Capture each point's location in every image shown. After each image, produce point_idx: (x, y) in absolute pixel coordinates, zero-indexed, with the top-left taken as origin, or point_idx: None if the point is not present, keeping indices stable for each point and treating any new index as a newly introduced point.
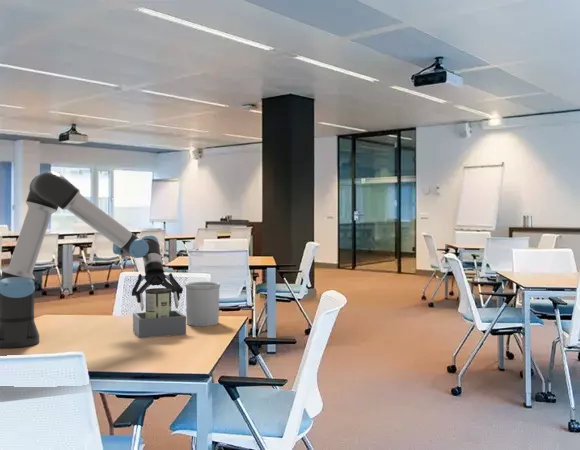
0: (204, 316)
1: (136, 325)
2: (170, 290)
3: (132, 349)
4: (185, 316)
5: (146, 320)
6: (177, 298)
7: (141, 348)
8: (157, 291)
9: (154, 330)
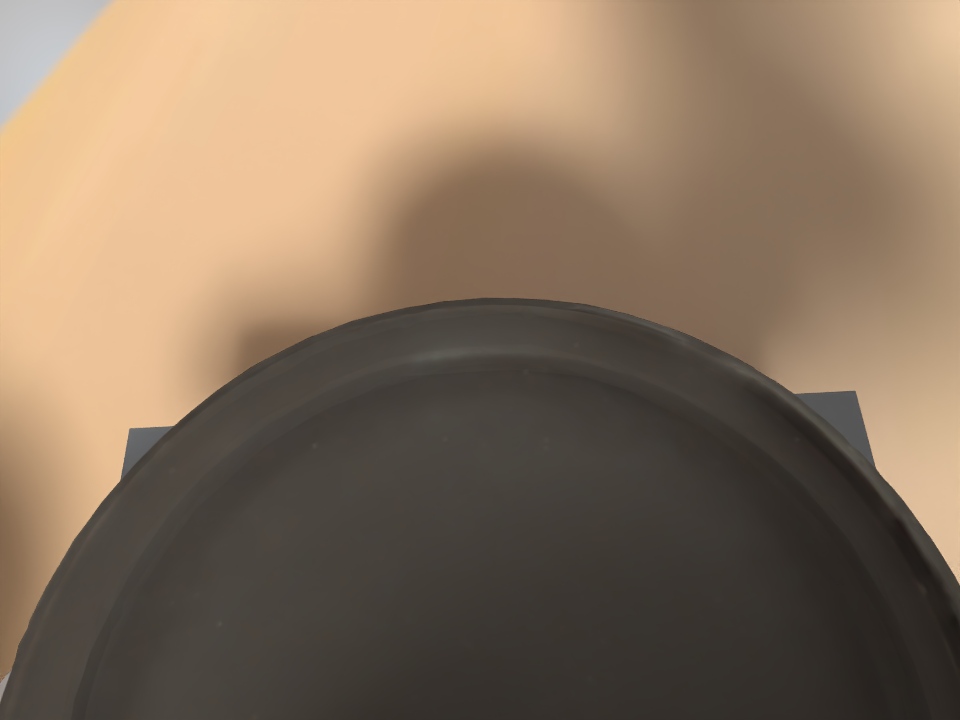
0: None
1: None
2: (134, 475)
3: (814, 70)
4: (133, 438)
5: None
6: (3, 681)
7: (739, 81)
8: (580, 304)
9: None
